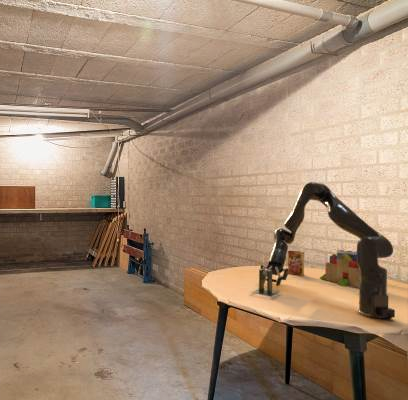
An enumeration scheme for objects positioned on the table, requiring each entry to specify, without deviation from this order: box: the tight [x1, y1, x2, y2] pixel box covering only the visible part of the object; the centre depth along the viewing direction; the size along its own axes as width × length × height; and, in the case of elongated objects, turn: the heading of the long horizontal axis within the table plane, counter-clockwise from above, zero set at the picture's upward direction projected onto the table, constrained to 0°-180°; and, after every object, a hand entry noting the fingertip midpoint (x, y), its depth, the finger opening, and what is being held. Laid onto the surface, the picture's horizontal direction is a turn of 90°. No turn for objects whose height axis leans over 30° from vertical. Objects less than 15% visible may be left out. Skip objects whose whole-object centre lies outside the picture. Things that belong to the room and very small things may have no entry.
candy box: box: [287, 249, 305, 276], centre depth 224 cm, size 9×4×15 cm, turn 43°
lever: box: [262, 269, 277, 283], centre depth 177 cm, size 12×5×2 cm, turn 137°
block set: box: [319, 252, 360, 289], centre depth 200 cm, size 28×14×19 cm, turn 21°
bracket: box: [250, 268, 281, 298], centre depth 174 cm, size 13×10×13 cm
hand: (270, 283), depth 180 cm, fingers open, 6 cm apart
